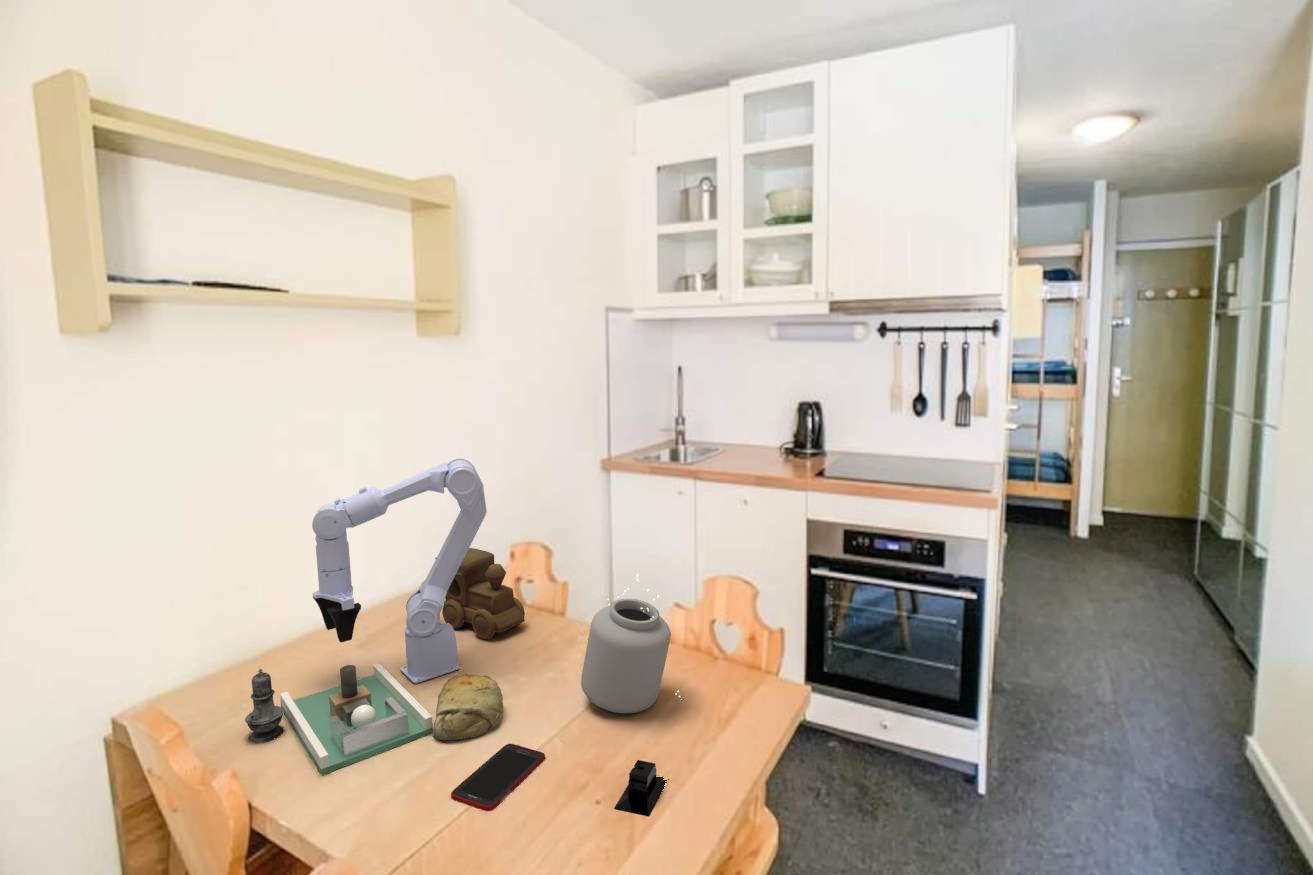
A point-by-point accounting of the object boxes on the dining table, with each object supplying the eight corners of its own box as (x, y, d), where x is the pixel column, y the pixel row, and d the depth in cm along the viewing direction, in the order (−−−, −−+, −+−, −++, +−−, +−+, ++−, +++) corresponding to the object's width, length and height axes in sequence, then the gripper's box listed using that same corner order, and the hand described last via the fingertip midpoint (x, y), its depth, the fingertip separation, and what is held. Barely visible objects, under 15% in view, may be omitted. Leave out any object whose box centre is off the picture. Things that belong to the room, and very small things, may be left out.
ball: (374, 698, 122) (381, 720, 120) (369, 705, 124) (376, 727, 123) (350, 706, 119) (356, 729, 117) (346, 713, 122) (352, 736, 120)
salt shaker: (268, 745, 118) (262, 678, 116) (238, 741, 119) (231, 675, 117) (293, 726, 124) (287, 662, 122) (264, 722, 125) (258, 659, 123)
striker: (364, 700, 130) (361, 659, 129) (377, 715, 125) (374, 673, 123) (330, 711, 126) (326, 669, 125) (342, 727, 121) (338, 684, 120)
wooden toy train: (435, 625, 166) (431, 557, 164) (473, 609, 176) (470, 545, 173) (493, 645, 155) (490, 573, 153) (530, 627, 164) (528, 559, 162)
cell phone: (547, 758, 114) (547, 753, 114) (490, 814, 101) (490, 808, 101) (508, 747, 117) (508, 741, 117) (448, 800, 104) (447, 794, 104)
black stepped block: (635, 767, 112) (635, 741, 111) (679, 776, 110) (679, 749, 109) (604, 818, 100) (603, 788, 100) (652, 829, 98) (652, 799, 97)
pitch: (380, 677, 141) (379, 663, 140) (433, 732, 121) (432, 716, 121) (281, 708, 129) (279, 693, 129) (321, 775, 110) (320, 757, 109)
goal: (392, 715, 125) (391, 696, 125) (408, 733, 119) (407, 714, 119) (330, 736, 118) (329, 717, 118) (344, 757, 113) (343, 737, 112)
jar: (692, 693, 134) (692, 567, 130) (662, 733, 120) (661, 594, 117) (604, 675, 141) (601, 555, 137) (566, 711, 128) (562, 579, 124)
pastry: (483, 695, 134) (481, 655, 133) (521, 719, 126) (519, 677, 124) (413, 724, 124) (410, 681, 123) (450, 753, 116) (447, 707, 114)
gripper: (300, 562, 138) (306, 628, 140) (323, 581, 127) (329, 652, 129) (338, 554, 142) (343, 618, 144) (363, 572, 131) (368, 641, 133)
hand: (339, 634), depth 137 cm, fingers open, 7 cm apart
